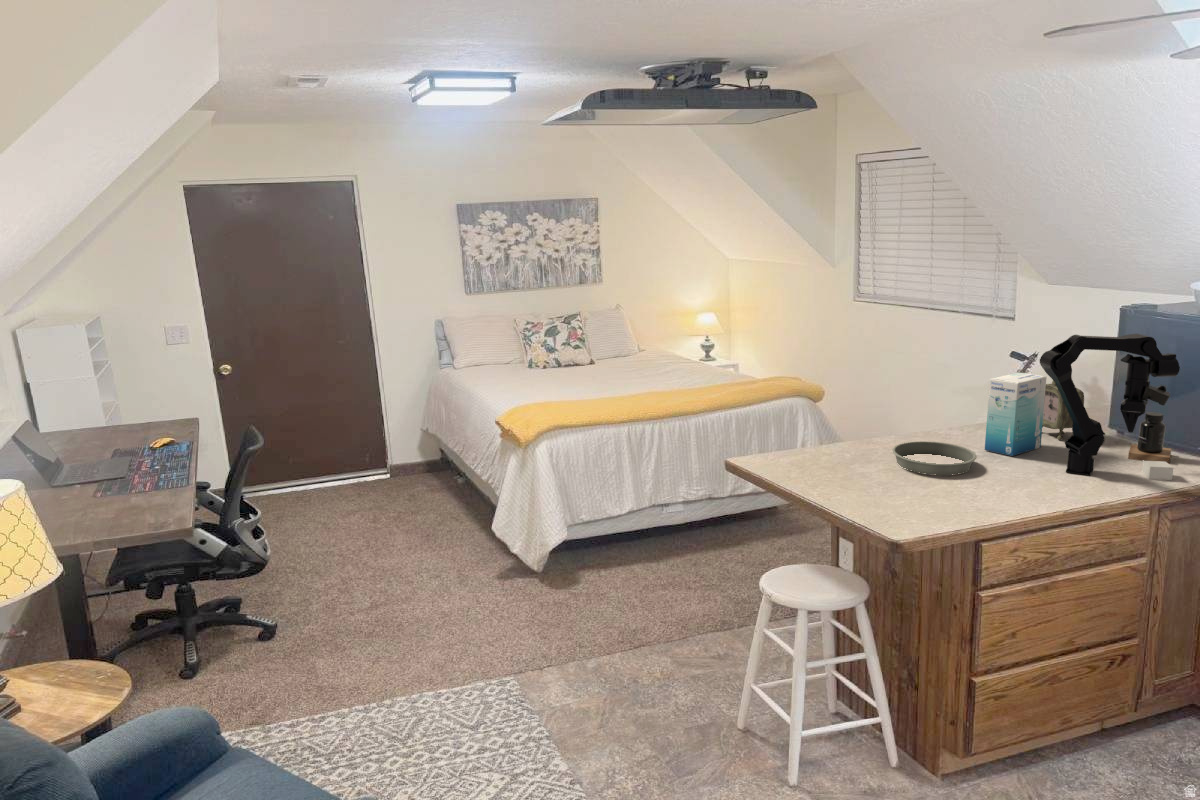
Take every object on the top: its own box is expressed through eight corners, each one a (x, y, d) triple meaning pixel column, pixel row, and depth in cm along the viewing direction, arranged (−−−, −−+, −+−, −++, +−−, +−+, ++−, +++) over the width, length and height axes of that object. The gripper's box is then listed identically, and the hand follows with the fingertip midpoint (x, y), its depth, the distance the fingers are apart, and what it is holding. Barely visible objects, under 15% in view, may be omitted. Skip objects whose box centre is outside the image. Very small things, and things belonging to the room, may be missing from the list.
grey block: (1148, 479, 261) (1150, 466, 260) (1141, 473, 266) (1143, 460, 265) (1171, 480, 259) (1173, 467, 258) (1164, 474, 265) (1165, 461, 264)
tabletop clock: (1030, 431, 313) (1037, 361, 307) (1053, 429, 315) (1060, 359, 309) (1058, 442, 299) (1065, 369, 293) (1082, 440, 301) (1090, 367, 295)
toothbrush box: (1012, 441, 302) (1018, 370, 296) (1042, 447, 294) (1048, 375, 288) (982, 450, 292) (988, 378, 286) (1012, 457, 284) (1019, 383, 278)
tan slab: (1128, 458, 280) (1128, 452, 279) (1130, 450, 289) (1131, 444, 288) (1169, 463, 274) (1170, 457, 273) (1170, 454, 283) (1171, 448, 282)
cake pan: (891, 475, 270) (892, 460, 269) (890, 452, 293) (891, 439, 292) (979, 480, 263) (980, 466, 262) (971, 457, 286) (972, 443, 285)
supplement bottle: (1133, 450, 281) (1138, 413, 278) (1141, 446, 285) (1145, 410, 283) (1158, 455, 276) (1163, 417, 273) (1165, 450, 281) (1170, 413, 278)
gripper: (1169, 386, 250) (1162, 439, 254) (1171, 374, 265) (1164, 424, 269) (1123, 382, 256) (1117, 434, 260) (1127, 370, 271) (1122, 420, 275)
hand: (1131, 428), depth 266 cm, fingers open, 9 cm apart
